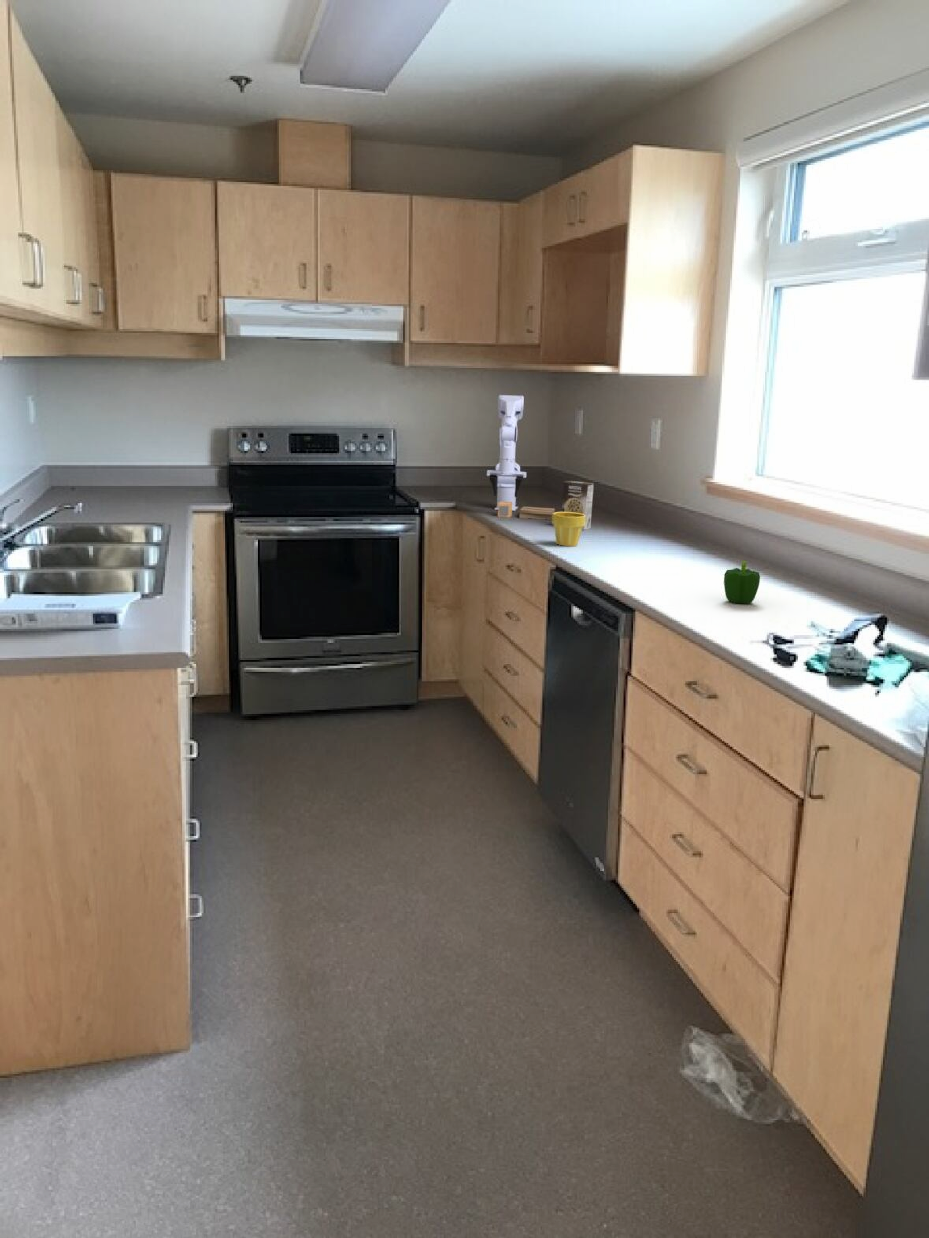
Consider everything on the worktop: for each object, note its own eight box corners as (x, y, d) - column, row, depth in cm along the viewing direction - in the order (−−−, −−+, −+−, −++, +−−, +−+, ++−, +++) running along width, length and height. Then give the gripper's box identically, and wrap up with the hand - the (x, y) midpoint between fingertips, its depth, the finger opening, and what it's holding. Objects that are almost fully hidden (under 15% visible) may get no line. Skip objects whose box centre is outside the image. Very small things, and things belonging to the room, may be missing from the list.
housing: (500, 514, 377) (500, 501, 376) (511, 515, 377) (512, 502, 375) (497, 516, 372) (498, 503, 370) (509, 517, 371) (510, 504, 370)
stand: (522, 514, 379) (523, 506, 378) (554, 516, 377) (554, 508, 376) (519, 518, 369) (519, 510, 369) (551, 520, 367) (552, 511, 367)
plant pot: (587, 547, 313) (589, 516, 311) (555, 547, 311) (557, 516, 309) (578, 541, 323) (580, 511, 320) (547, 541, 321) (549, 511, 319)
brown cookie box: (560, 527, 351) (562, 481, 347) (567, 525, 356) (569, 480, 352) (584, 530, 347) (587, 483, 343) (591, 528, 352) (594, 482, 348)
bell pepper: (747, 607, 239) (752, 566, 237) (716, 601, 245) (720, 561, 242) (763, 602, 245) (767, 562, 243) (732, 596, 251) (736, 557, 248)
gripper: (486, 459, 367) (484, 496, 370) (525, 461, 364) (523, 498, 367) (489, 457, 373) (487, 494, 377) (527, 459, 371) (526, 496, 374)
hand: (505, 496), depth 372 cm, fingers open, 7 cm apart
